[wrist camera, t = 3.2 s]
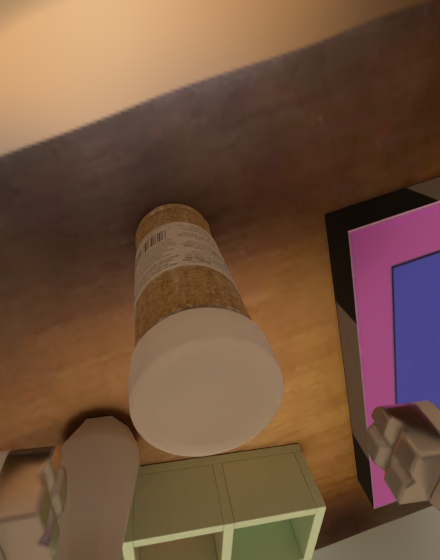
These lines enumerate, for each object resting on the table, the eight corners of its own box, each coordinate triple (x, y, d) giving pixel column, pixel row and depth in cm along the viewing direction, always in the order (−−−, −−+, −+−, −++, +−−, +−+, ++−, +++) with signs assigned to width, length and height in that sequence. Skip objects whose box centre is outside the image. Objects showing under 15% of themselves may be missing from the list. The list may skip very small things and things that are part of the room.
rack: (61, 580, 36) (48, 659, 31) (29, 481, 29) (6, 564, 24) (279, 538, 40) (299, 602, 35) (298, 443, 33) (326, 506, 28)
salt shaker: (78, 468, 30) (40, 704, 18) (48, 420, 27) (-20, 666, 15) (149, 446, 30) (155, 665, 19) (127, 398, 27) (117, 621, 16)
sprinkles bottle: (164, 284, 23) (188, 484, 12) (118, 228, 21) (90, 406, 9) (225, 245, 23) (312, 412, 11) (184, 184, 21) (240, 313, 9)
